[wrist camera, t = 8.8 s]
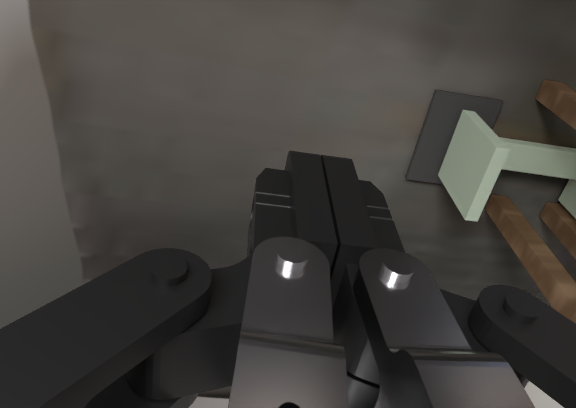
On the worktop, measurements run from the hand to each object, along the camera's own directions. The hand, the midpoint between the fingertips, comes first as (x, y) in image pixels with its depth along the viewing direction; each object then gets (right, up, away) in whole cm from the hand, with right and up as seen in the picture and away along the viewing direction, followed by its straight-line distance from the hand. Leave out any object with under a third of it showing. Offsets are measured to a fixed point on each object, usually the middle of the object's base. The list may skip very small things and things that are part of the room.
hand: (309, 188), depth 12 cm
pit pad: (+13, +5, +29) cm, 33 cm away
